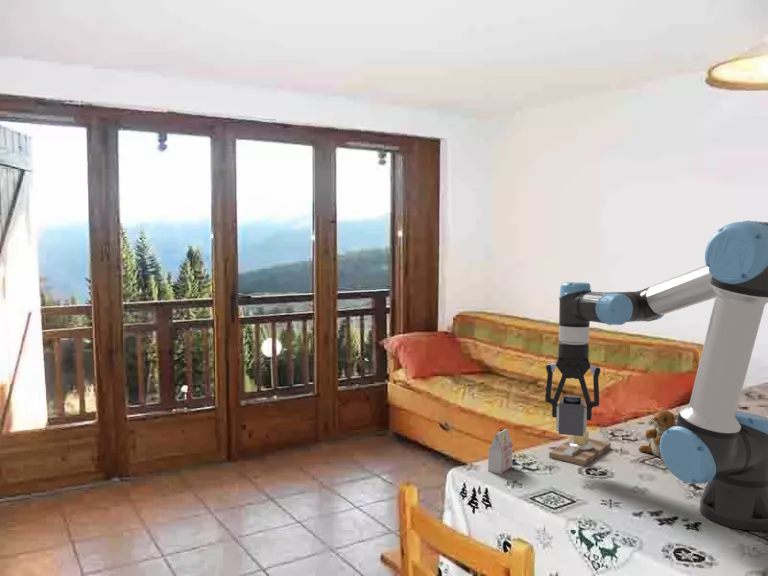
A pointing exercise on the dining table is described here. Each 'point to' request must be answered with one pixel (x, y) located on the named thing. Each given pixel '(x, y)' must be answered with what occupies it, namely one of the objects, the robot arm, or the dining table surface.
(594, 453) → the block
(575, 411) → the grey cube with knob
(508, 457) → the white gable top carton
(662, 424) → the stuffed squirrel
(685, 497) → the dining table surface
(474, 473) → the dining table surface
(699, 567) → the dining table surface
